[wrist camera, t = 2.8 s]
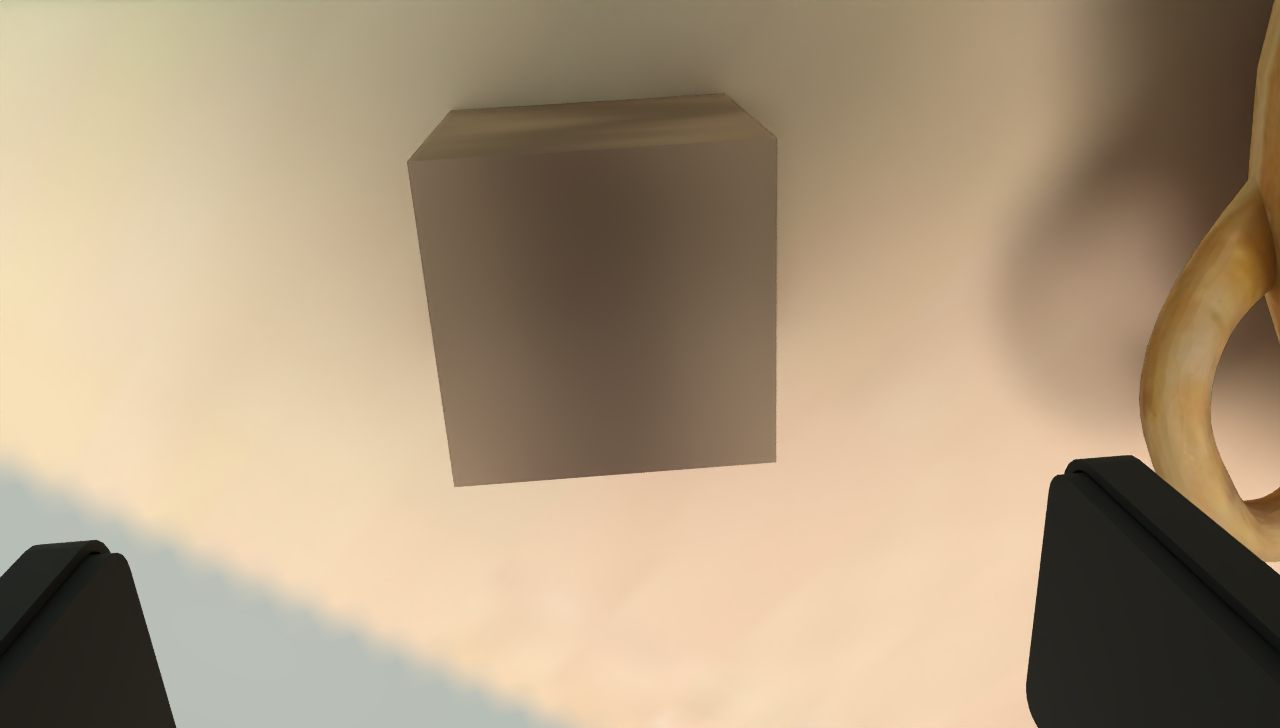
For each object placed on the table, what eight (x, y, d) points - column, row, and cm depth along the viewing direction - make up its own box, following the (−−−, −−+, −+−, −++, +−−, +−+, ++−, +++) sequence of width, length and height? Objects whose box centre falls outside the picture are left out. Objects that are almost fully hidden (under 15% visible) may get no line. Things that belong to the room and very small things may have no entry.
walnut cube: (723, 92, 21) (776, 138, 16) (728, 345, 24) (776, 462, 18) (450, 110, 21) (406, 161, 15) (482, 363, 23) (454, 487, 18)
